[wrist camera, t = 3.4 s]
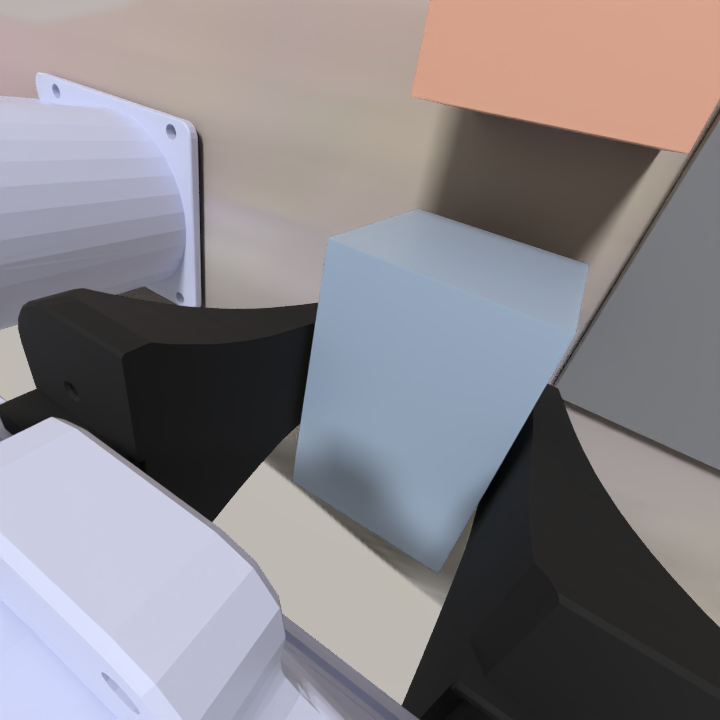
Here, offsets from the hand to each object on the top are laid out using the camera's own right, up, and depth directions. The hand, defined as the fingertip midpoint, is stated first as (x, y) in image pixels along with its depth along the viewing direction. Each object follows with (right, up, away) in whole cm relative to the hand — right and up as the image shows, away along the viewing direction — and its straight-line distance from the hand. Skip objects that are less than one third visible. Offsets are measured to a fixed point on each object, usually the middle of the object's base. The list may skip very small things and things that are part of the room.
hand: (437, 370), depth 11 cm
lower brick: (+1, +1, +1) cm, 2 cm away
